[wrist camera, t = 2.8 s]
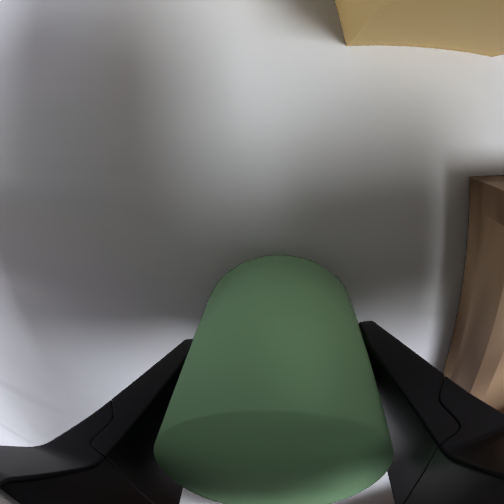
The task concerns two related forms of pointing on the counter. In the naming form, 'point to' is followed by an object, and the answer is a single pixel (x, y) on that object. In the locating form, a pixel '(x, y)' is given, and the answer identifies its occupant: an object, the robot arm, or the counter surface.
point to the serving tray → (481, 298)
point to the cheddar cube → (425, 24)
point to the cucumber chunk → (276, 393)
